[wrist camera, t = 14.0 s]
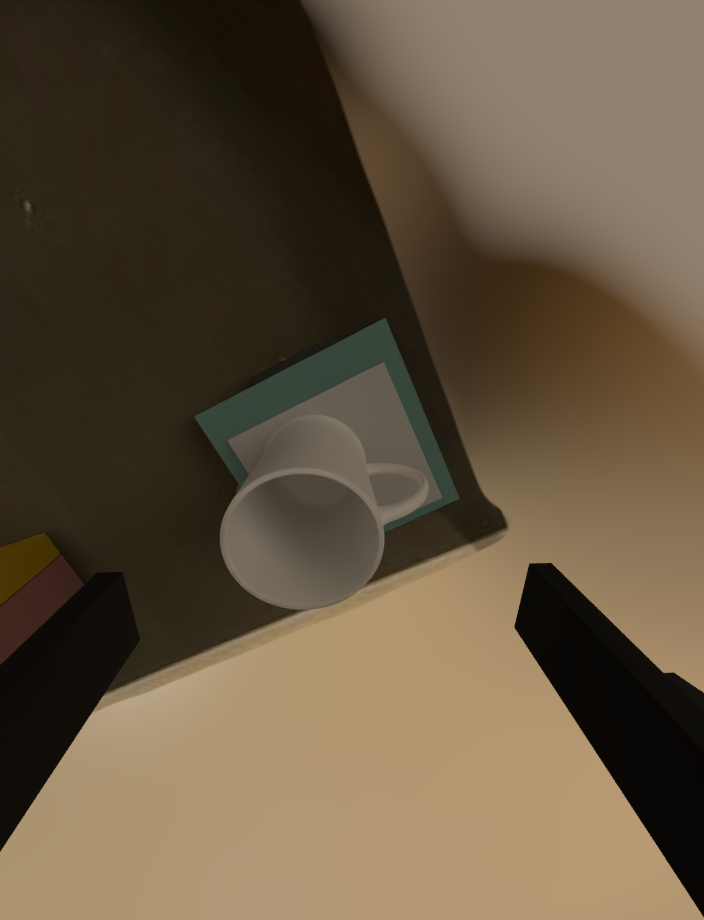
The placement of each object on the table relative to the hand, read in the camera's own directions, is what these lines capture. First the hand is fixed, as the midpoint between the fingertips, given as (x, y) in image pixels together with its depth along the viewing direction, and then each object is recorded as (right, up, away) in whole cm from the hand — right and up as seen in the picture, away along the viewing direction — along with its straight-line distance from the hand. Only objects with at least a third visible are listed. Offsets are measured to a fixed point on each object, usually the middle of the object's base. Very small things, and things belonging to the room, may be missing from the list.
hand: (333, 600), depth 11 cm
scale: (-1, +5, +20) cm, 20 cm away
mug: (-1, +5, +17) cm, 17 cm away
